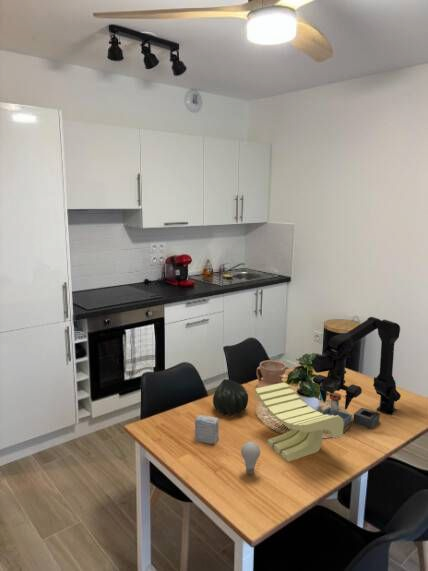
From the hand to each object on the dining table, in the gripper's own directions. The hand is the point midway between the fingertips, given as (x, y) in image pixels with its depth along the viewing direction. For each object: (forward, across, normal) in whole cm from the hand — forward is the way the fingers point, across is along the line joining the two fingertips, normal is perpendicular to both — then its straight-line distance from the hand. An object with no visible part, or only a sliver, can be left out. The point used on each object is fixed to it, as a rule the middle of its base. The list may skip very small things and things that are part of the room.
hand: (335, 405), depth 170 cm
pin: (+7, 0, 0) cm, 7 cm away
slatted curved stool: (+7, -2, -26) cm, 27 cm away
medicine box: (+7, -28, -45) cm, 54 cm away
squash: (+7, -36, -22) cm, 43 cm away
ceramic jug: (+7, -34, +5) cm, 35 cm away
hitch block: (+7, +10, +8) cm, 15 cm away
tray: (+7, 0, 0) cm, 7 cm away
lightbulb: (+7, -4, -50) cm, 51 cm away
